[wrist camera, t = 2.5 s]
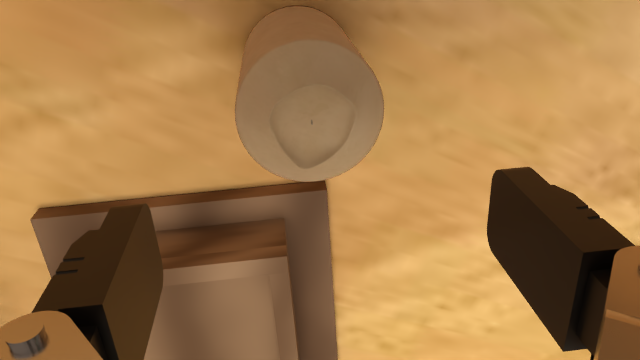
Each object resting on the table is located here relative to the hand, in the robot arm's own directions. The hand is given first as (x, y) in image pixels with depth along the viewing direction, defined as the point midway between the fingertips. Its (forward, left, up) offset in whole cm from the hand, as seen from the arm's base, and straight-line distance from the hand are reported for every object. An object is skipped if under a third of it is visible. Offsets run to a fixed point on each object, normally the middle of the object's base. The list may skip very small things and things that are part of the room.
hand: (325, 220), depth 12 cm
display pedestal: (+7, +14, -16) cm, 23 cm away
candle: (0, 0, -17) cm, 17 cm away
